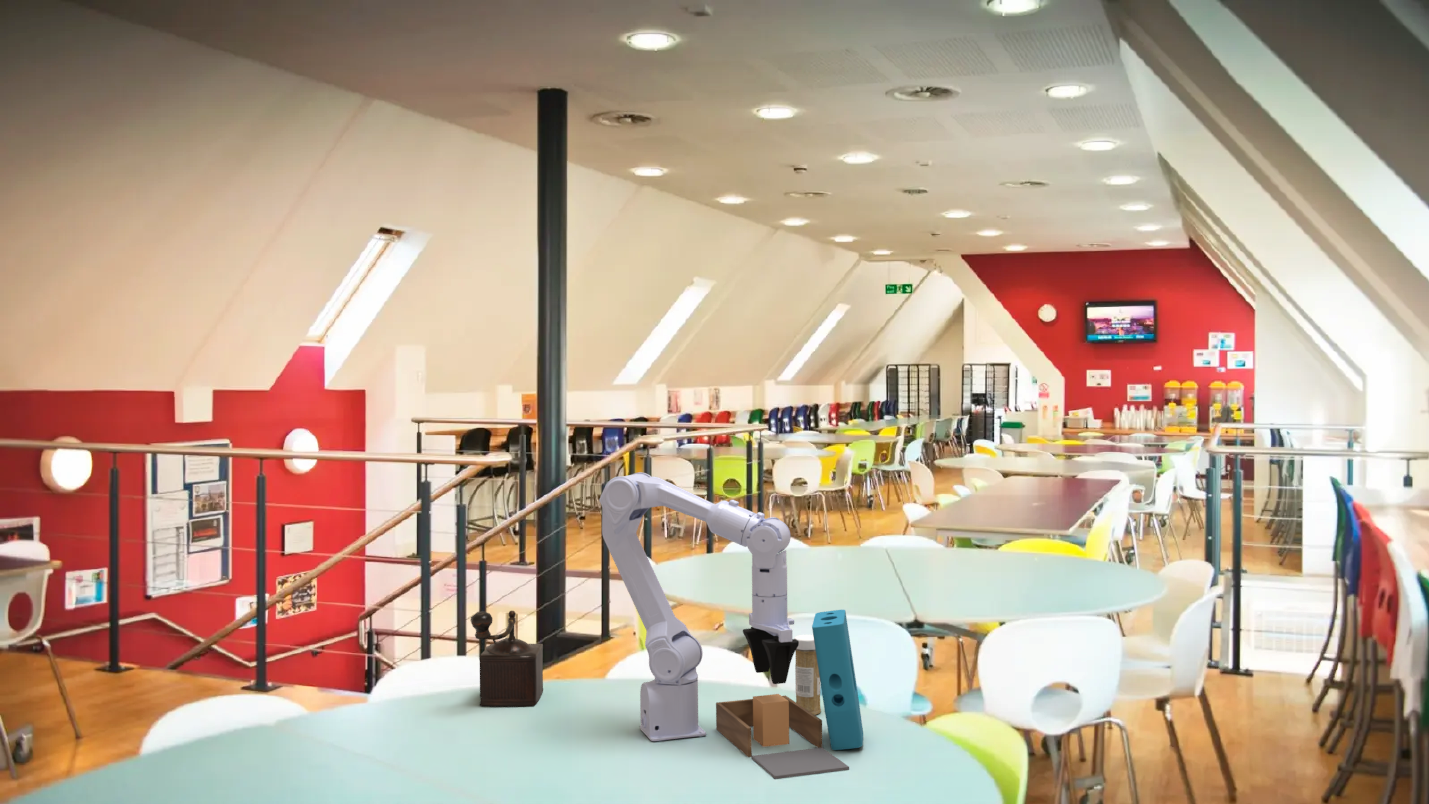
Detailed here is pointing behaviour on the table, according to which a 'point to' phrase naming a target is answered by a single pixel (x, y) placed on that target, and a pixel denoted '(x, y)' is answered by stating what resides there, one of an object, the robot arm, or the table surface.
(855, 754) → the table surface
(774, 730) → the orange block
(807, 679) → the sprinkles bottle
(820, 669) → the block
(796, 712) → the walnut box
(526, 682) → the manual coffee grinder
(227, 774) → the table surface
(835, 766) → the charcoal mat
